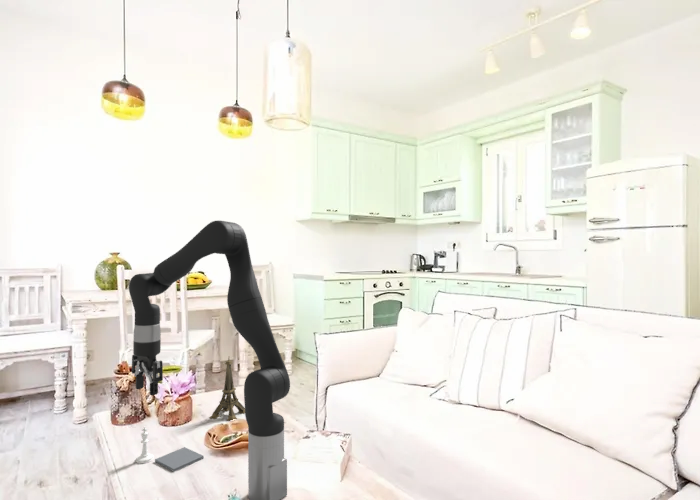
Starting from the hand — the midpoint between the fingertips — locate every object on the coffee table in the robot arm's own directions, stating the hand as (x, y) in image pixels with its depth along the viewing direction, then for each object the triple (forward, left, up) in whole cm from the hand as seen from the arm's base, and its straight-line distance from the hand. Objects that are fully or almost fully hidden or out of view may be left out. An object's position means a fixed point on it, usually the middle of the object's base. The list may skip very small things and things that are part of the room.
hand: (146, 391), depth 134 cm
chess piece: (+1, 0, -21) cm, 21 cm away
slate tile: (-8, -6, -21) cm, 23 cm away
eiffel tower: (+9, -38, -21) cm, 45 cm away
